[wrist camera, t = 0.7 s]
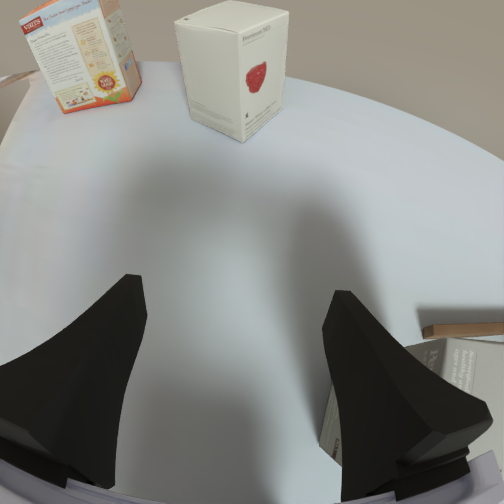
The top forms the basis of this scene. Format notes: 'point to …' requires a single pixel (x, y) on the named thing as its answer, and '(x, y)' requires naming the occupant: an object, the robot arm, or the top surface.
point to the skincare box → (458, 374)
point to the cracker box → (83, 52)
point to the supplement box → (234, 65)
